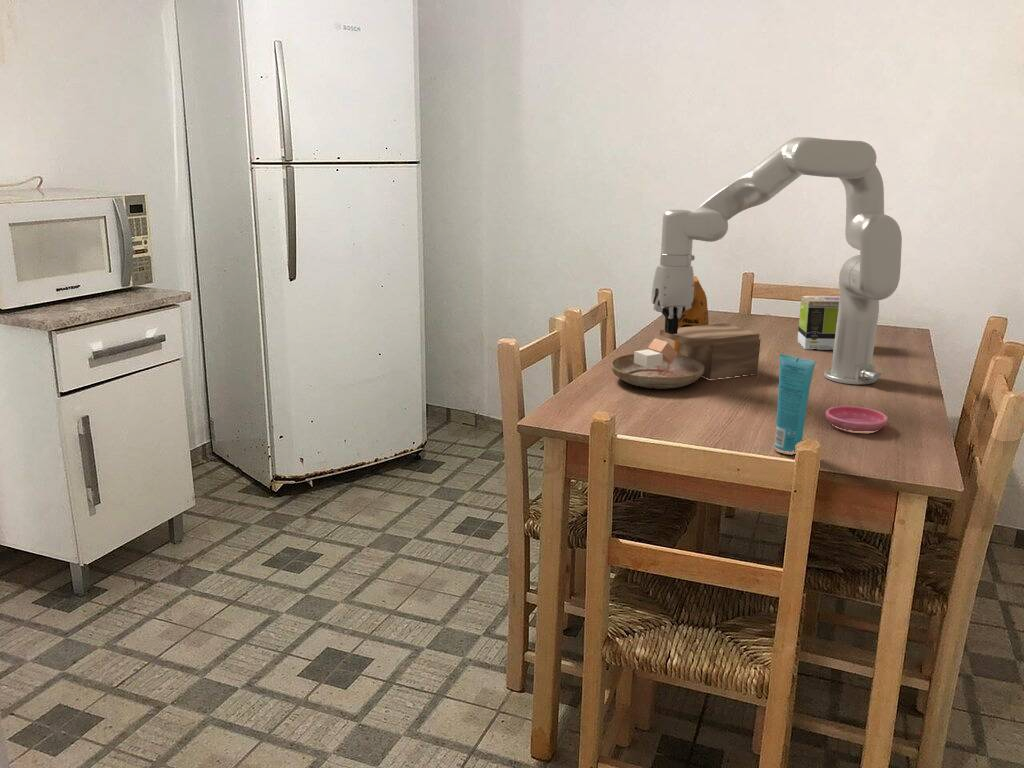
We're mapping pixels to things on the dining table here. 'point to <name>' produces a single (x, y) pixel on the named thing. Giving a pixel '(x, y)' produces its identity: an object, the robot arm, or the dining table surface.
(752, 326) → the dining table surface
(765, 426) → the dining table surface
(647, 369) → the ceramic bowl
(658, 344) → the peach clay cube
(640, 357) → the white square block
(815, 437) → the dining table surface
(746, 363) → the wooden box
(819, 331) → the tea box
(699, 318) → the coffee package
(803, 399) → the tube
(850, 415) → the saucer
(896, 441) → the dining table surface
